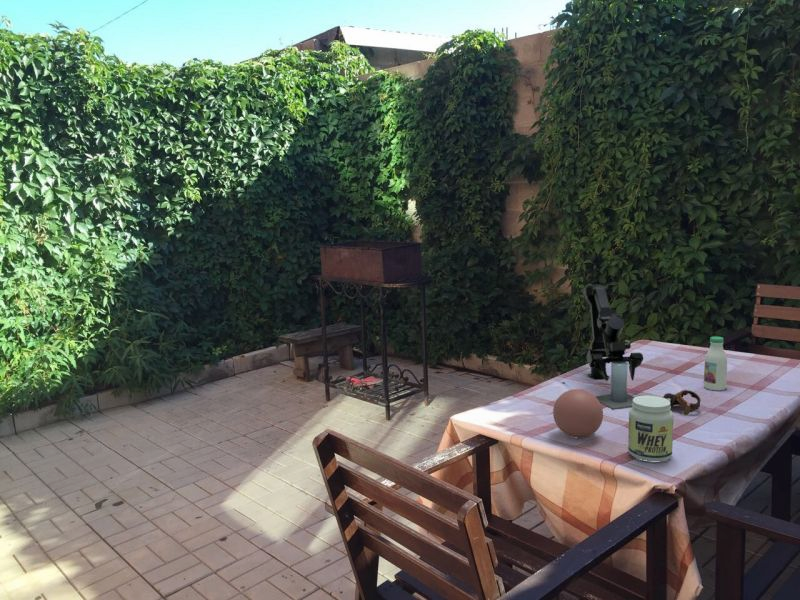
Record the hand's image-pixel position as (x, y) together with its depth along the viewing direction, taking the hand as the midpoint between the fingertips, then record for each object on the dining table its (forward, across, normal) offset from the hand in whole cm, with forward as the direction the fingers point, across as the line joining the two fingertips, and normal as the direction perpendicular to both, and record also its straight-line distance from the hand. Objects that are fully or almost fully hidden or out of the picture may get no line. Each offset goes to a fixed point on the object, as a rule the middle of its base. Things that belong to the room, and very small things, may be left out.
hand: (619, 380), depth 234 cm
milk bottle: (-4, +40, +16) cm, 43 cm away
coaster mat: (+5, 0, +7) cm, 9 cm away
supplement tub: (+40, -4, -27) cm, 48 cm away
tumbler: (+5, 0, +7) cm, 8 cm away
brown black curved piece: (+13, +19, 0) cm, 23 cm away
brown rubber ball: (+27, -20, -15) cm, 37 cm away
